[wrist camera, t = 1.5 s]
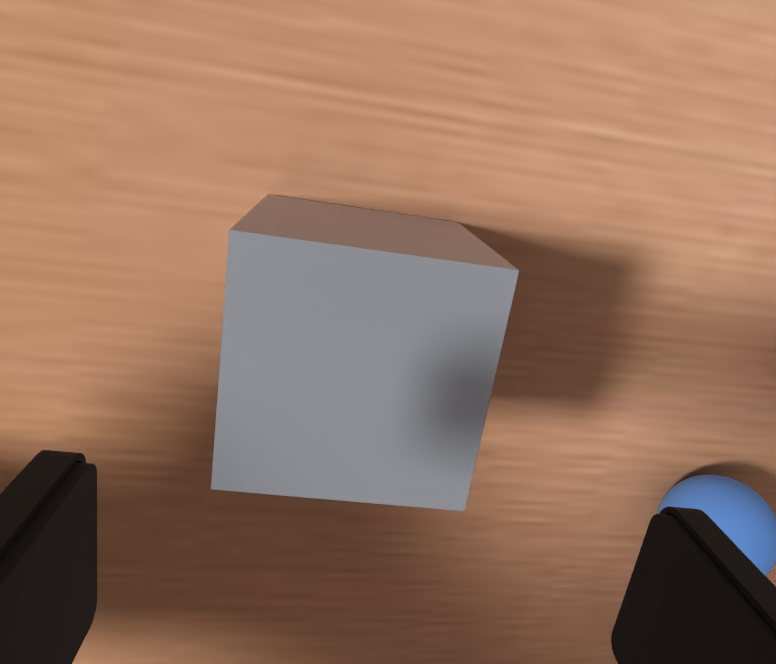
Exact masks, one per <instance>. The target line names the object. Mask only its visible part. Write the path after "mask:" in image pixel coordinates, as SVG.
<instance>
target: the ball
mask: <svg viewBox="0 0 776 664" xmlns="http://www.w3.org/2000/svg"><path fill="white" fill-rule="evenodd" d="M668 506H670V507H681V508H692V509H699V510H702V511H703V512H705V513H706V514H707V515H708V516H709V517H710V518H711V519H712V520H713V521H714V522H715V524H716V525H717V526H718V527H719V528H720V529H721V530H722V531H723V532H724V533H725V534H726V535H727V536H728V537H729V538H730V539H731V540H732V541H733V542H734V544H735V545H736V546H737V547H738V548H739V549H740V550H741V551H742V552H743V553H744V554H745V555H746V556H747V557H748V558H749V559H750V560H751V561H752V562H753V564H754V565H755V566H756V567H757V568H758V569H759V570H760V571H761V572H762V573H763V574H764V575H765V576H766V575H767V574H768V573H769V572H770V570H771V569H772V568H773V566H774V564H775V563H776V517H775V515H774V513H773V511H772V510H771V508H770V507H769V505H768V504H767V502H766V501H765V500H764V499H763V498H762V497H761V496H760V495H759V494H758V493H757V492H755V491H754V490H753V489H751V488H750V487H749V486H747V485H745V484H743V483H741V482H740V481H738V480H735V479H732V478H729V477H726V476H720V475H712V474H710V475H698V476H693V477H690V478H687V479H685V480H683V481H681V482H679V483H678V484H676V485H675V486H673V487H672V488H671V489H670V490H669V491H668V492H667V494H666V495H665V496H664V498H663V500H662V501H661V504H660V506H659V509H658V513H657V514H659V513H660V511H661V510H662V509H663V508H665V507H668Z"/></svg>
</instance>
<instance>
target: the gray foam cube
mask: <svg viewBox="0 0 776 664" xmlns="http://www.w3.org/2000/svg"><path fill="white" fill-rule="evenodd" d="M518 274H519V270H518V269H517V268H516V267H515V266H513V265H512V264H511V263H509V262H508V261H507V260H506V259H504V258H503V257H502V256H500V255H499V254H498V253H497V252H495V251H494V250H493V249H491V248H490V247H489V246H488V245H486V244H485V243H484V242H483V241H481V240H480V239H479V238H477V237H476V236H475V235H474V234H472V233H471V232H470V231H468V230H467V229H466V228H465V227H463V226H462V225H461V224H459V223H458V222H453V221H446V220H440V219H433V218H426V217H419V216H413V215H406V214H399V213H392V212H386V211H379V210H372V209H365V208H359V207H352V206H345V205H338V204H331V203H325V202H318V201H311V200H304V199H298V198H291V197H284V196H277V195H271V194H268V195H267V196H266V197H265V198H263V199H262V200H261V201H260V202H259V203H258V204H257V205H256V206H255V207H254V208H253V209H252V210H250V211H249V212H248V213H247V214H246V215H245V216H244V217H243V218H242V219H241V220H240V221H239V222H237V223H236V224H235V225H234V226H233V227H232V228H231V229H230V230H229V243H228V257H227V271H226V285H225V299H224V313H223V327H222V341H221V354H220V368H219V382H218V396H217V410H216V424H215V438H214V452H213V466H212V480H211V489H213V490H224V491H236V492H248V493H259V494H271V495H282V496H294V497H306V498H317V499H329V500H340V501H352V502H364V503H375V504H387V505H398V506H410V507H421V508H433V509H445V510H456V511H464V510H465V506H466V502H467V497H468V493H469V489H470V484H471V480H472V475H473V471H474V467H475V462H476V458H477V454H478V449H479V445H480V440H481V436H482V432H483V427H484V423H485V418H486V414H487V410H488V405H489V401H490V397H491V392H492V388H493V383H494V379H495V375H496V370H497V366H498V362H499V357H500V353H501V348H502V344H503V340H504V335H505V331H506V327H507V322H508V318H509V313H510V309H511V305H512V300H513V296H514V291H515V287H516V283H517V278H518Z"/></svg>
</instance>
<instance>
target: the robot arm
mask: <svg viewBox="0 0 776 664" xmlns="http://www.w3.org/2000/svg"><path fill="white" fill-rule="evenodd" d="M96 604H97V469H96V466H95V465H94V464H89V463H86V460H85V457H84V455H83V454H82V453H73V452H62V451H50V450H42V451H41V452H39V453H38V454H37V455H36V456H35V457H34V458H33V459H32V461H31V462H30V463H29V464H28V465H27V466H26V467H25V468H24V469H23V470H22V471H21V472H20V473H19V475H18V476H17V477H16V478H15V479H14V480H13V481H12V482H11V483H10V484H9V485H8V486H7V487H6V489H5V490H4V491H3V492H2V493H1V494H0V664H72V662H73V660H74V658H75V656H76V654H77V652H78V650H79V648H80V646H81V644H82V642H83V640H84V638H85V636H86V634H87V632H88V630H89V628H90V626H91V624H92V621H93V618H94V614H95V610H96ZM611 643H612V650H613V653H614V656H615V658H616V660H617V662H618V664H776V587H775V586H774V585H773V583H772V582H771V581H770V580H769V579H768V578H767V577H766V576H765V575H764V574H763V573H762V572H761V571H760V570H759V569H758V568H757V567H756V566H755V565H754V564H753V562H752V561H751V560H750V559H749V558H748V557H747V556H746V555H745V554H744V553H743V552H742V551H741V550H740V549H739V548H738V547H737V546H736V545H735V544H734V542H733V541H732V540H731V539H730V538H729V537H728V536H727V535H726V534H725V533H724V532H723V531H722V530H721V529H720V528H719V527H718V526H717V525H716V524H715V522H714V521H713V520H712V519H711V518H710V517H709V516H708V515H707V514H706V513H705V512H703V511H702V510H699V509H692V508H681V507H670V506H668V507H665V508H663V509H662V510H661V511H660V513H659V514H656V515H654V516H653V517H652V519H651V521H650V523H649V526H648V529H647V532H646V535H645V538H644V541H643V544H642V547H641V550H640V552H639V555H638V558H637V561H636V564H635V567H634V570H633V573H632V576H631V579H630V582H629V585H628V588H627V590H626V593H625V596H624V599H623V602H622V605H621V608H620V611H619V614H618V617H617V620H616V623H615V625H614V628H613V631H612V636H611Z"/></svg>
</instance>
